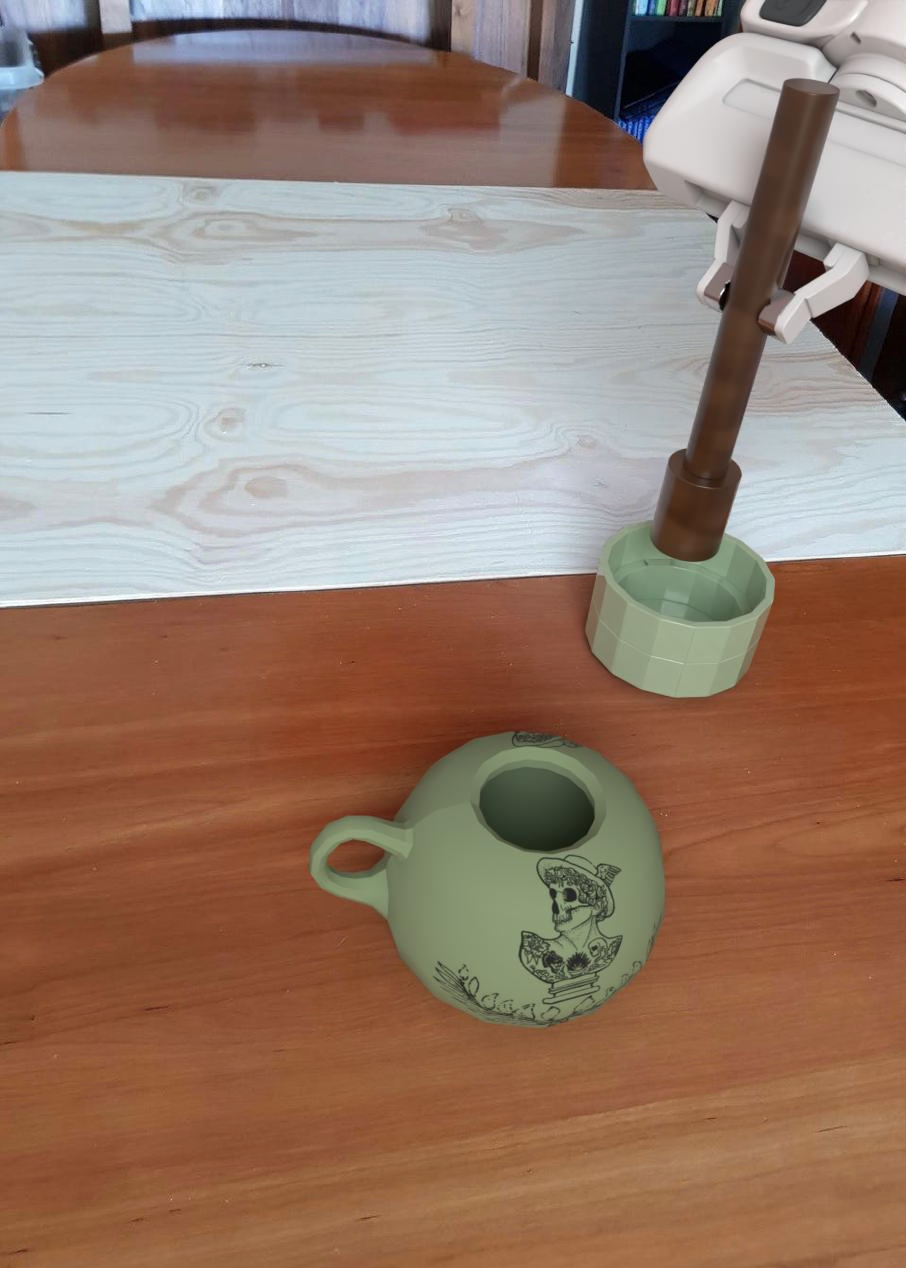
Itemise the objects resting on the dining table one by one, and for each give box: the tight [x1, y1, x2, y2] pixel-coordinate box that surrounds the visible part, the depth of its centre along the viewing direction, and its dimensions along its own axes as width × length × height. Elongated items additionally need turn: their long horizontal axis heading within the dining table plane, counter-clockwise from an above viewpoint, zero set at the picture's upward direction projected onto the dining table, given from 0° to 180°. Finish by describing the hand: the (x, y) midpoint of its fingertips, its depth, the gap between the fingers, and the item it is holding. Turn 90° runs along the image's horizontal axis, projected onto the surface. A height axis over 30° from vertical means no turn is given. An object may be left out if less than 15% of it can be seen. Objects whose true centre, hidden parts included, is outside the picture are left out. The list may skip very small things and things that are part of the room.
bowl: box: [584, 519, 776, 699], centre depth 63 cm, size 10×10×6 cm
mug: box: [307, 730, 667, 1030], centre depth 47 cm, size 16×13×9 cm
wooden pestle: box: [650, 78, 840, 562], centre depth 53 cm, size 4×4×24 cm
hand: (739, 318), depth 51 cm, fingers closed on wooden pestle, 2 cm apart
